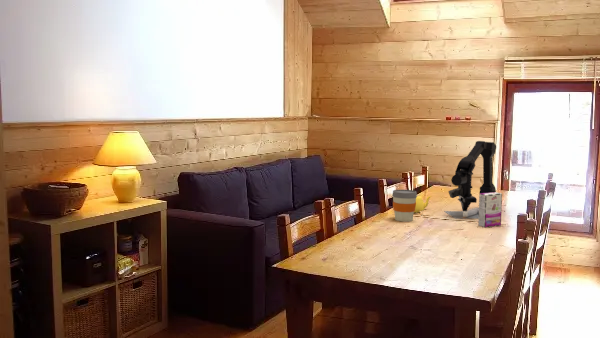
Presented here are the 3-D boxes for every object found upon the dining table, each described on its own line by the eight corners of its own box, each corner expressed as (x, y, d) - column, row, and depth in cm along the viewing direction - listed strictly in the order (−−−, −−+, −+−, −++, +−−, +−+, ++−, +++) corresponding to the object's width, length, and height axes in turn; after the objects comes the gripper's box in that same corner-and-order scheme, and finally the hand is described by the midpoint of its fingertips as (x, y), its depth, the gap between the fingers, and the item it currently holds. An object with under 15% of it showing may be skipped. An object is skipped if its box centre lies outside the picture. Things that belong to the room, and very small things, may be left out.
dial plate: (479, 213, 319) (479, 211, 319) (493, 221, 299) (493, 218, 299) (443, 213, 318) (443, 211, 318) (455, 221, 298) (455, 218, 298)
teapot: (431, 212, 321) (432, 195, 320) (413, 214, 314) (414, 196, 313) (414, 208, 333) (415, 191, 332) (396, 210, 326) (397, 193, 325)
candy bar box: (493, 223, 294) (495, 191, 292) (501, 225, 289) (503, 193, 287) (477, 225, 289) (478, 193, 287) (484, 227, 284) (486, 194, 282)
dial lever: (475, 211, 316) (475, 206, 316) (484, 212, 313) (484, 207, 313) (460, 216, 303) (460, 210, 302) (469, 217, 299) (469, 211, 299)
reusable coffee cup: (400, 216, 309) (401, 188, 308) (420, 220, 300) (421, 191, 299) (386, 219, 301) (387, 191, 299) (406, 223, 292) (407, 194, 290)
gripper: (445, 180, 312) (443, 209, 314) (456, 186, 294) (454, 216, 296) (465, 180, 313) (464, 209, 315) (477, 186, 294) (476, 216, 297)
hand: (464, 212), depth 306 cm, fingers closed
